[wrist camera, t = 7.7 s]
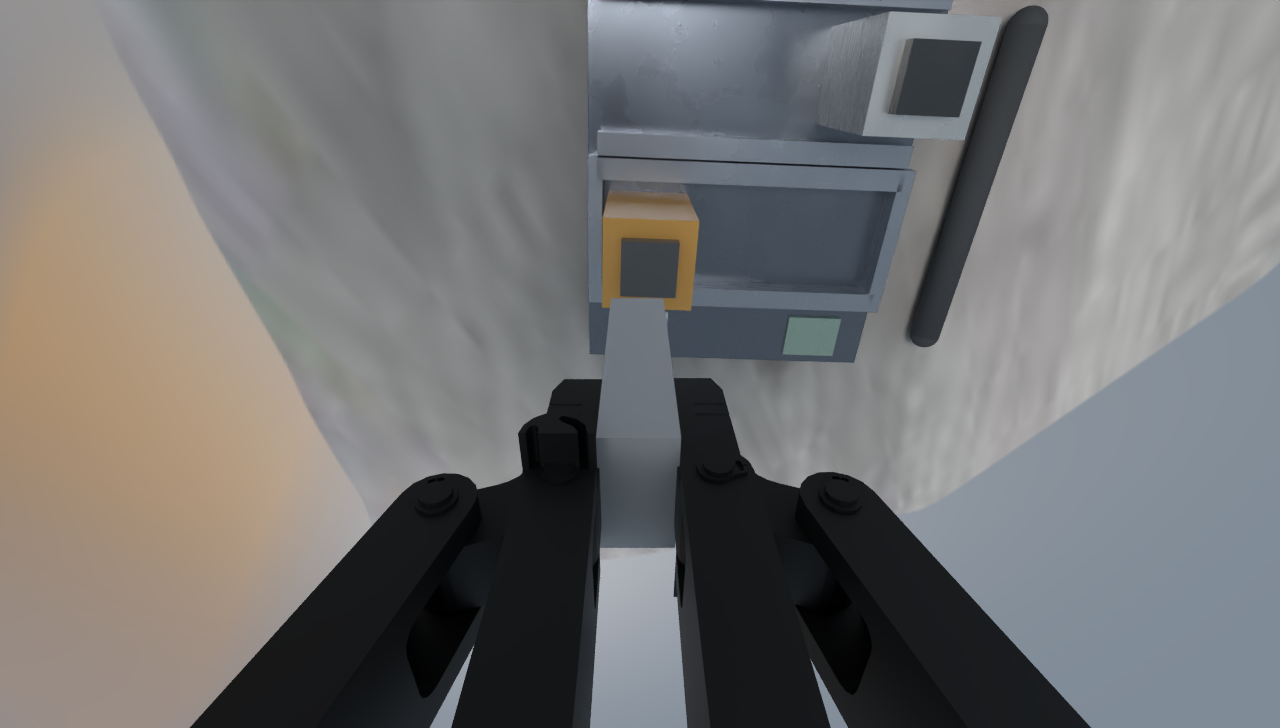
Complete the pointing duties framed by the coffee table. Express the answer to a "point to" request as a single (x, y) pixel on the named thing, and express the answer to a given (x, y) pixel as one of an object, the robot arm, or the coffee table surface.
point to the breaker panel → (775, 152)
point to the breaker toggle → (649, 247)
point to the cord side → (979, 169)
